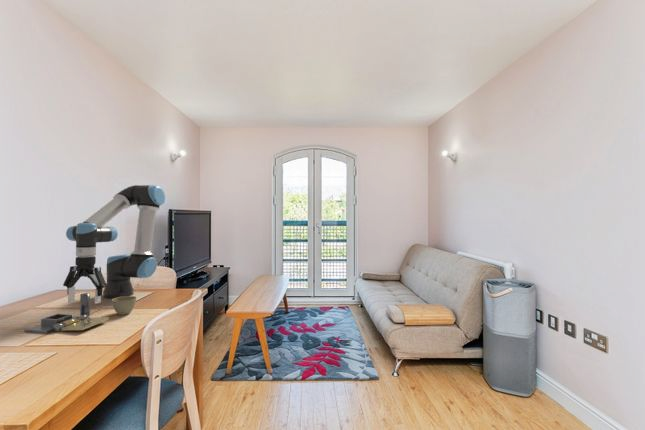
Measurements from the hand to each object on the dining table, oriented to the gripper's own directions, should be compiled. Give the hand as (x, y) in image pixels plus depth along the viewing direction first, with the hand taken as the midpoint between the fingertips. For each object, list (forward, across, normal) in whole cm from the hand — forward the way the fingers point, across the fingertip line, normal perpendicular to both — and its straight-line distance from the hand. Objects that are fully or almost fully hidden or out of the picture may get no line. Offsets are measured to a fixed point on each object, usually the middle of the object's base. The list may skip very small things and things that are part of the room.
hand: (84, 302), depth 149 cm
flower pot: (+6, +15, +7) cm, 18 cm away
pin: (+6, 0, 0) cm, 6 cm away
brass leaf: (+6, +11, -12) cm, 18 cm away
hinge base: (+7, +1, -12) cm, 14 cm away
